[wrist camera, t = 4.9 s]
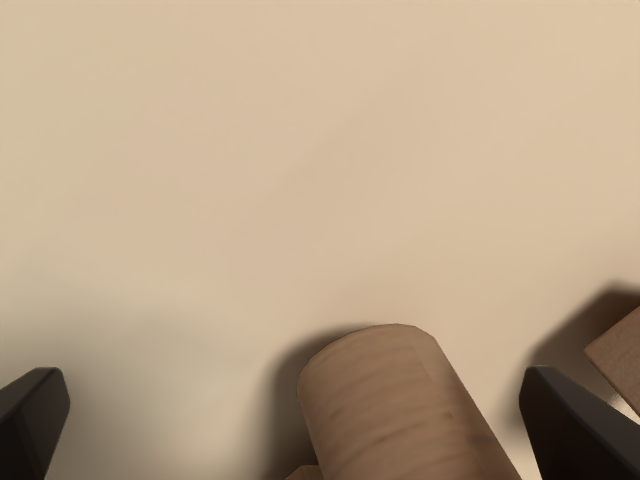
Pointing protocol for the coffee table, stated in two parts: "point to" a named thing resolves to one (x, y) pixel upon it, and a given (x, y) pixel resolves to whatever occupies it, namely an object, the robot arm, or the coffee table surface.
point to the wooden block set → (420, 406)
